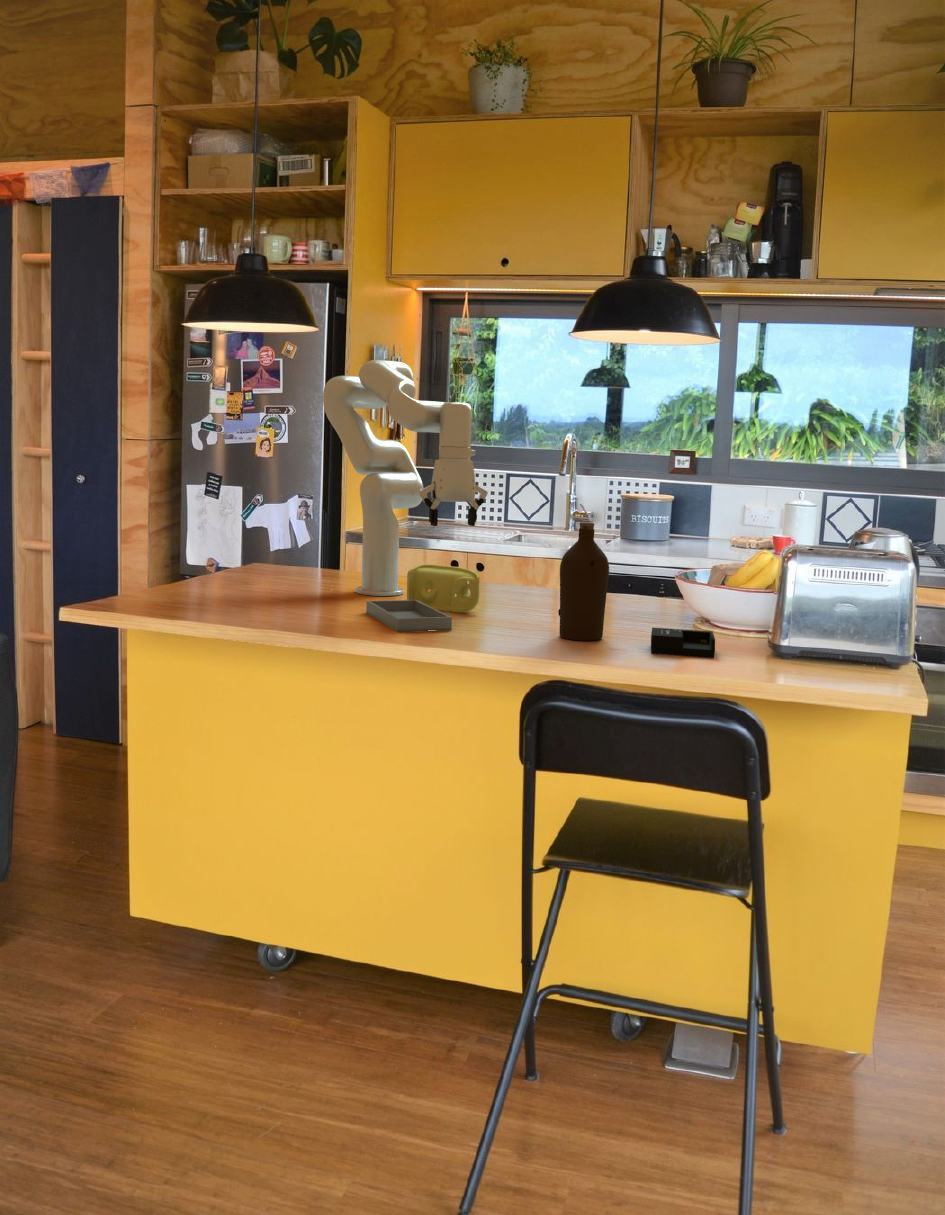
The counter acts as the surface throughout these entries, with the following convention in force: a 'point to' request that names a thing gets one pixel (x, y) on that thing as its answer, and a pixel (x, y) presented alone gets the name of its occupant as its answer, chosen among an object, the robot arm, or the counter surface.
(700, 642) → the battery charger
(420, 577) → the plastic component
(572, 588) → the olive oil
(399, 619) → the tray
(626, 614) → the counter surface
